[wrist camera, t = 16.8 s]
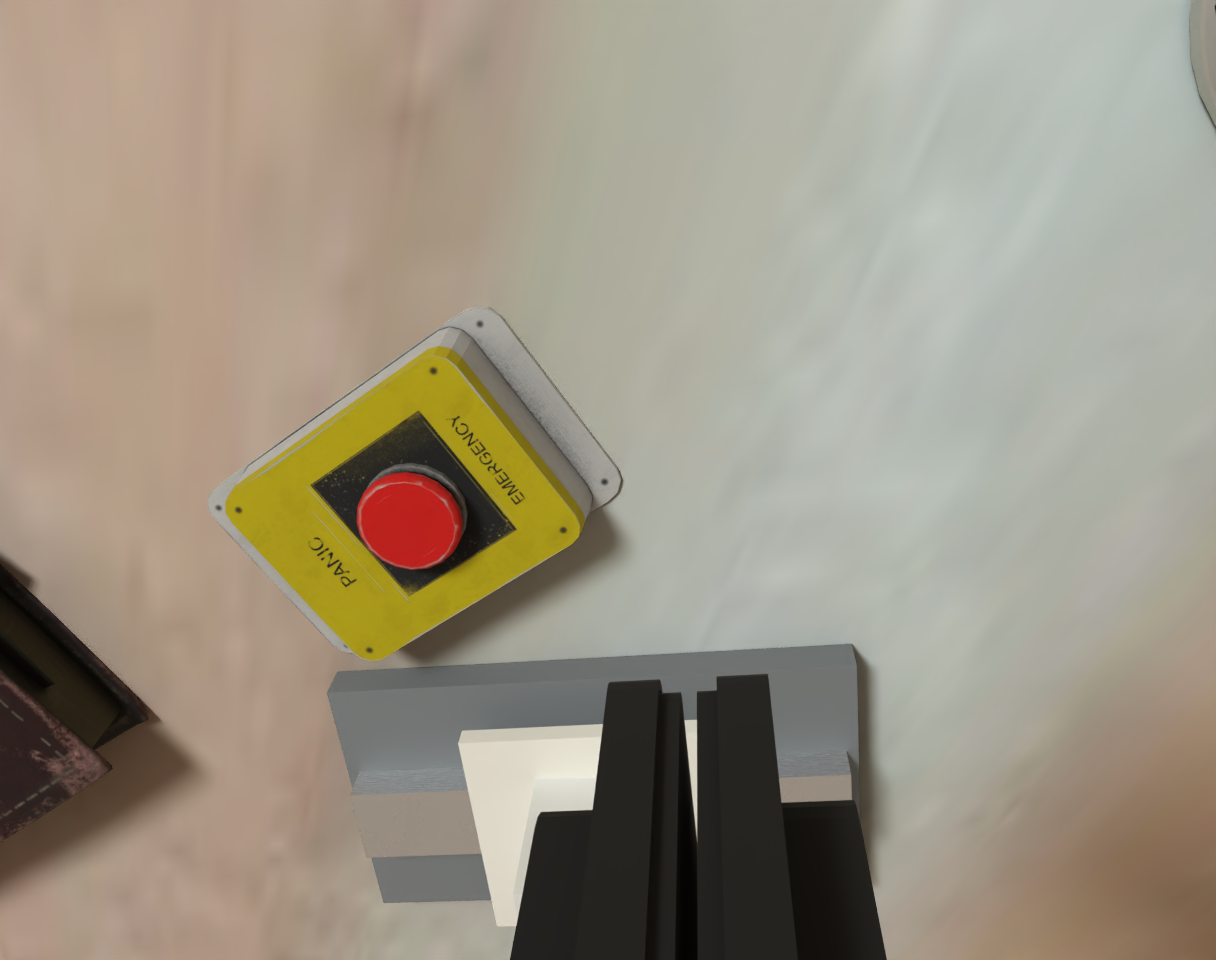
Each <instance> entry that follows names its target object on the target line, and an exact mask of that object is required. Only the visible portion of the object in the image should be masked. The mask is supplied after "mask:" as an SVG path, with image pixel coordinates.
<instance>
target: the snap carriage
mask: <svg viewBox="0 0 1216 960" xmlns="http://www.w3.org/2000/svg"><path fill="white" fill-rule="evenodd" d="M684 721H685V730H686V740H687V749H688V759H689V769H690V778H691V788H692V798H693V807H694V817H695V826H696V836H697V720H684ZM602 728H603V724H593V725H572V726H551V727H530V728H509V729H487V730H466V731H462V732H461V736H460V739H459V742H458V745H459V750H460V755H461V759H462V764H463V769H464V773H465V778H466V783H467V787H468V792H469V797H470V802H471V806H472V811H473V816H474V820H475V825H476V830H477V834H478V839H479V844H480V848H481V853H482V858H483V863H484V867H485V872H486V877H487V881H488V886H489V891H490V895H491V900H492V905H493V909H494V914H495V919H496V923H497V926H516V925H517V920H518V919H517V913H516V908H515V902H514V896H513V891H514V886H515V880H516V875H517V870H518V865H519V860H520V855H521V850H522V845H523V840H524V834H525V829H526V824H527V819H528V814H529V809H530V804H531V799H532V794H533V789H534V783H535V779H552V778H591V777H597V769H598V761H599V752H600V744H601V736H602Z"/></svg>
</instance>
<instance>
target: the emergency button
mask: <svg viewBox="0 0 1216 960" xmlns="http://www.w3.org/2000/svg"><path fill="white" fill-rule="evenodd" d="M620 482H621V476H620V473H619V470H618V468H617V466H616V465H615V464H614V462H613V461H612V460H611V458H610V457H609V456H608V454H607V453H606V452H605V450H604V449H603V448H602V447H601V445H600V444H599V443H598V441H597V440H596V439H595V437H594V436H593V435H592V433H591V432H590V431H589V430H588V428H587V427H586V426H585V424H584V423H583V422H582V420H581V419H580V418H579V416H578V415H577V414H576V413H575V411H574V410H573V409H572V407H571V406H570V405H569V403H568V402H567V401H566V400H565V398H564V397H563V396H562V394H561V393H560V392H559V390H558V389H557V388H556V386H555V385H554V384H553V383H552V381H551V380H550V379H549V377H548V376H547V375H546V373H545V372H544V371H543V369H542V368H541V367H540V366H539V364H538V363H537V362H536V360H535V359H534V358H533V356H532V355H531V354H530V352H529V351H528V350H527V349H526V347H525V346H524V345H523V343H522V342H521V341H520V339H519V338H518V337H517V335H516V334H515V333H514V332H513V330H512V329H511V328H510V326H509V325H508V324H507V322H506V321H505V320H504V319H503V317H502V316H501V315H500V314H499V313H497V312H496V311H494V310H493V309H492V308H490V307H483V306H474V307H471V308H469V309H466V310H464V311H461V312H460V313H459V314H457V315H456V316H454V317H453V318H452V319H450V320H449V321H447V322H446V323H445V324H443V325H442V326H440V327H439V328H438V329H436V330H435V331H433V332H432V333H431V334H429V335H428V336H426V337H425V338H424V339H422V340H421V341H419V342H418V343H416V344H415V345H414V346H412V347H411V348H409V349H408V350H407V351H405V352H404V353H402V354H401V355H400V356H398V357H397V358H395V359H394V360H393V361H391V362H390V363H388V364H387V365H386V366H384V367H383V368H381V369H380V370H379V371H377V372H376V373H374V374H373V375H372V376H370V377H369V378H367V379H366V380H365V381H363V382H362V383H360V384H359V385H358V386H356V387H355V388H353V389H352V390H351V391H349V392H348V393H346V394H345V395H344V396H342V397H341V398H339V399H338V400H337V401H335V402H334V403H332V404H331V405H330V406H328V407H327V408H325V409H324V410H323V411H321V412H320V413H318V414H317V415H316V416H314V417H313V418H311V419H310V420H309V421H307V422H306V423H304V424H303V425H302V426H300V427H299V428H297V429H296V430H295V431H293V432H292V433H290V434H289V435H288V436H286V437H285V438H283V439H282V440H281V441H279V442H278V443H276V444H275V445H274V446H272V447H271V448H269V449H268V450H267V451H265V452H264V453H262V454H261V455H260V456H258V457H257V458H255V459H254V460H253V461H251V462H250V463H248V464H247V465H246V466H244V467H243V468H241V469H240V470H239V471H237V472H236V473H234V474H233V475H232V476H230V477H229V478H227V479H226V480H225V481H223V482H222V483H220V484H219V485H218V486H217V487H216V488H215V489H214V491H213V492H212V493H211V494H210V496H209V501H208V509H209V511H210V513H211V515H212V517H213V518H214V519H215V521H216V522H217V523H218V524H219V525H220V526H221V527H222V528H223V529H224V530H225V531H226V532H227V533H228V534H229V535H230V537H231V538H232V539H233V540H234V541H235V542H236V543H237V544H238V545H239V546H240V547H241V548H242V549H243V550H244V551H245V553H246V554H247V555H248V556H249V557H250V558H251V559H252V560H253V561H254V562H255V563H256V564H257V565H258V566H259V567H260V569H261V570H262V571H263V572H264V573H265V574H266V575H267V576H268V577H269V578H270V579H271V580H272V581H273V582H274V583H275V585H276V586H277V587H278V588H279V589H280V590H281V591H282V592H283V593H284V594H285V595H286V596H287V597H288V598H289V599H290V601H291V602H292V603H293V604H294V605H295V606H296V607H297V608H298V609H299V610H300V611H301V612H302V613H303V614H304V615H305V617H306V618H307V619H308V620H309V621H310V622H311V623H312V624H313V625H314V626H315V627H316V628H317V629H318V630H319V632H320V633H321V634H322V635H323V636H324V637H325V638H326V639H327V640H328V641H329V642H330V643H331V644H332V645H333V646H334V647H336V648H337V649H339V650H340V651H342V652H347V653H354V654H355V655H357V656H358V657H359V658H361V659H363V660H368V661H372V662H373V661H377V660H381V659H383V658H385V657H387V656H388V655H390V654H392V653H393V652H395V651H397V650H398V649H400V648H401V647H403V646H405V645H406V644H408V643H410V642H411V641H413V640H415V639H416V638H418V637H420V636H421V635H423V634H425V633H426V632H428V631H430V630H431V629H433V628H434V627H436V626H438V625H439V624H441V623H443V622H444V621H446V620H448V619H449V618H451V617H453V616H454V615H456V614H458V613H459V612H461V611H463V610H464V609H466V608H468V607H469V606H471V605H472V604H474V603H476V602H477V601H479V600H481V599H482V598H484V597H486V596H487V595H489V594H491V593H492V592H494V591H496V590H497V589H499V588H501V587H502V586H504V585H505V584H507V583H509V582H510V581H512V580H514V579H515V578H517V577H519V576H520V575H522V574H524V573H525V572H527V571H529V570H530V569H532V568H534V567H535V566H537V565H538V564H540V563H542V562H543V561H545V560H547V559H548V558H550V557H552V556H553V555H555V554H557V553H558V552H560V551H562V550H563V549H565V548H567V547H568V546H570V545H572V544H573V543H574V541H575V540H576V539H577V538H578V537H579V535H580V534H581V532H582V530H583V528H584V523H585V521H586V518H587V516H588V514H589V513H590V512H592V511H594V510H595V509H597V508H599V507H600V506H602V505H603V504H605V503H607V502H608V501H609V500H610V499H611V498H612V497H613V496H614V495H615V494H616V493H617V492H618V489H619V485H620Z"/></svg>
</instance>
